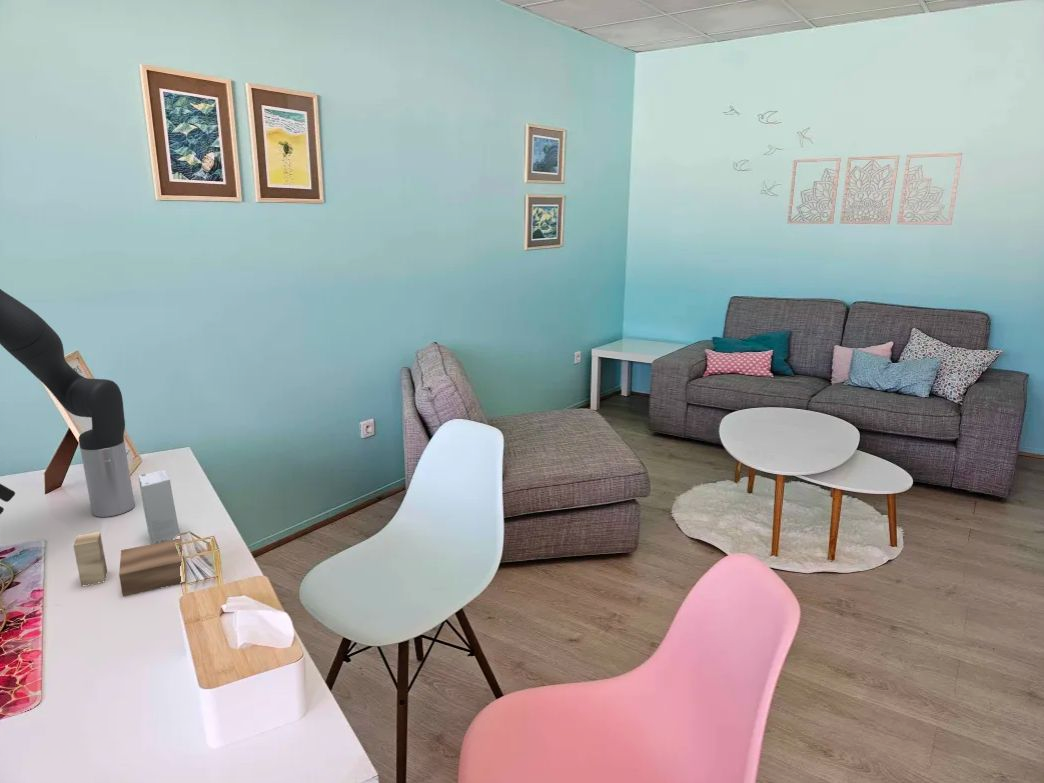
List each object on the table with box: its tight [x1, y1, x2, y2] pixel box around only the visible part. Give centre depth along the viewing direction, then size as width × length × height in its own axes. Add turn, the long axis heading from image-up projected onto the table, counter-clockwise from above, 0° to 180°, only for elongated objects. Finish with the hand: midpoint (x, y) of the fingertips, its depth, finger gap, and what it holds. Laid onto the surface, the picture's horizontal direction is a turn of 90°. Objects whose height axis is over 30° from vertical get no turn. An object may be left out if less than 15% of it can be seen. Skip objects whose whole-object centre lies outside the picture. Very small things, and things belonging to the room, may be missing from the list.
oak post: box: [73, 531, 108, 587], centre depth 138 cm, size 5×4×9 cm
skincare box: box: [138, 469, 181, 544], centre depth 154 cm, size 8×6×15 cm
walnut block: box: [118, 537, 183, 597], centre depth 139 cm, size 11×11×5 cm
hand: (6, 505), depth 130 cm, fingers open, 8 cm apart
